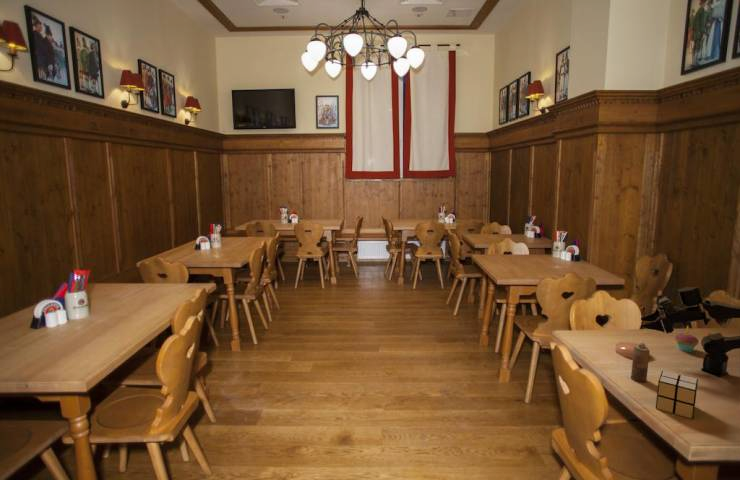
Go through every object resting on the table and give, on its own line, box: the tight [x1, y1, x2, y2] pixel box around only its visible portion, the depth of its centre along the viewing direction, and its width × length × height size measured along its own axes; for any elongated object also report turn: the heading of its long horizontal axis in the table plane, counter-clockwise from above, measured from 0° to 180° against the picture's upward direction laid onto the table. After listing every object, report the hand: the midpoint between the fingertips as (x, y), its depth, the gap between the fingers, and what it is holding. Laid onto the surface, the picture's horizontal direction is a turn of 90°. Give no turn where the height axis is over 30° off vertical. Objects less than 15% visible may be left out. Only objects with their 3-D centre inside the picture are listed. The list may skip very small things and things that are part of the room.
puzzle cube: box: [655, 370, 699, 420], centre depth 144 cm, size 10×10×10 cm
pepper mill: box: [630, 342, 651, 384], centre depth 163 cm, size 5×5×14 cm
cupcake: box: [674, 325, 699, 353], centre depth 189 cm, size 9×8×12 cm
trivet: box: [614, 341, 640, 360], centre depth 187 cm, size 12×12×3 cm
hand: (641, 322), depth 179 cm, fingers open, 9 cm apart
